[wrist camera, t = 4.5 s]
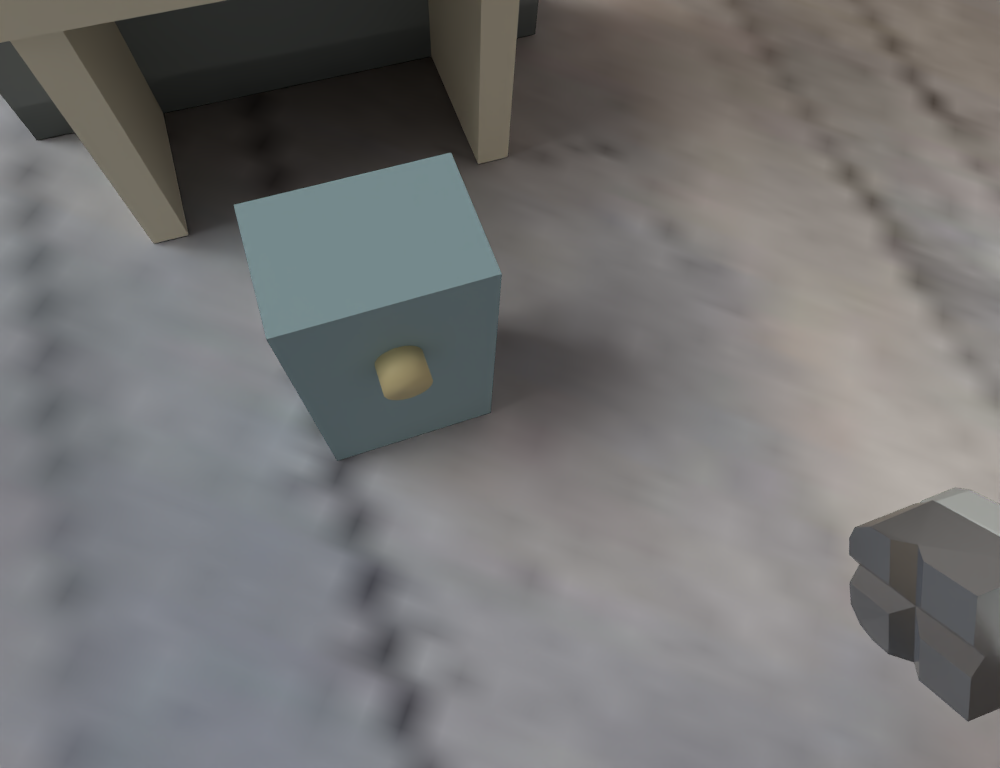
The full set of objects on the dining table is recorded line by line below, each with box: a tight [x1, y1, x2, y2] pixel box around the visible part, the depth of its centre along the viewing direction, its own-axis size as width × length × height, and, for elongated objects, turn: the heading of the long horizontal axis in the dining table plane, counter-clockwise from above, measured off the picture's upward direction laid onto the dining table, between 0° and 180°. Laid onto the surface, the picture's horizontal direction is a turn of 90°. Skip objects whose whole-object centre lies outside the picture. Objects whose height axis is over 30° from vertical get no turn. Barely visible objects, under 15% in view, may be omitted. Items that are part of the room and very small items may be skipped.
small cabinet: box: [234, 153, 502, 461], centre depth 18 cm, size 5×4×8 cm
